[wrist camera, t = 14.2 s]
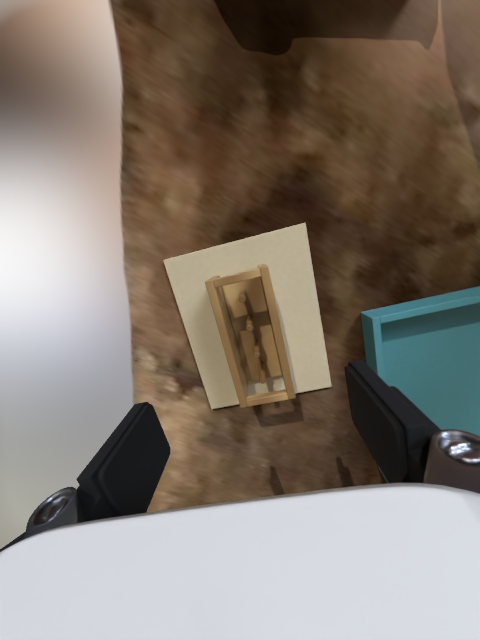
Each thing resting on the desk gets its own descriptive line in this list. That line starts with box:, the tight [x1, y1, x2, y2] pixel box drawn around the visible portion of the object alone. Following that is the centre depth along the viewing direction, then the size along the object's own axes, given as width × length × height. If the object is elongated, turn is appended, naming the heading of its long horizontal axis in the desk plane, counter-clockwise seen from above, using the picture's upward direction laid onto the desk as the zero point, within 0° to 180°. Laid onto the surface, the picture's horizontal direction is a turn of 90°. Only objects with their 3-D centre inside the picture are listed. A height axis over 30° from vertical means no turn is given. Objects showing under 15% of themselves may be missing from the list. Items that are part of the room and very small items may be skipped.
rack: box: [205, 264, 296, 408], centre depth 25 cm, size 6×14×5 cm, turn 14°
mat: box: [163, 223, 331, 409], centre depth 28 cm, size 16×20×1 cm
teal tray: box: [361, 286, 480, 483], centre depth 28 cm, size 20×24×3 cm
